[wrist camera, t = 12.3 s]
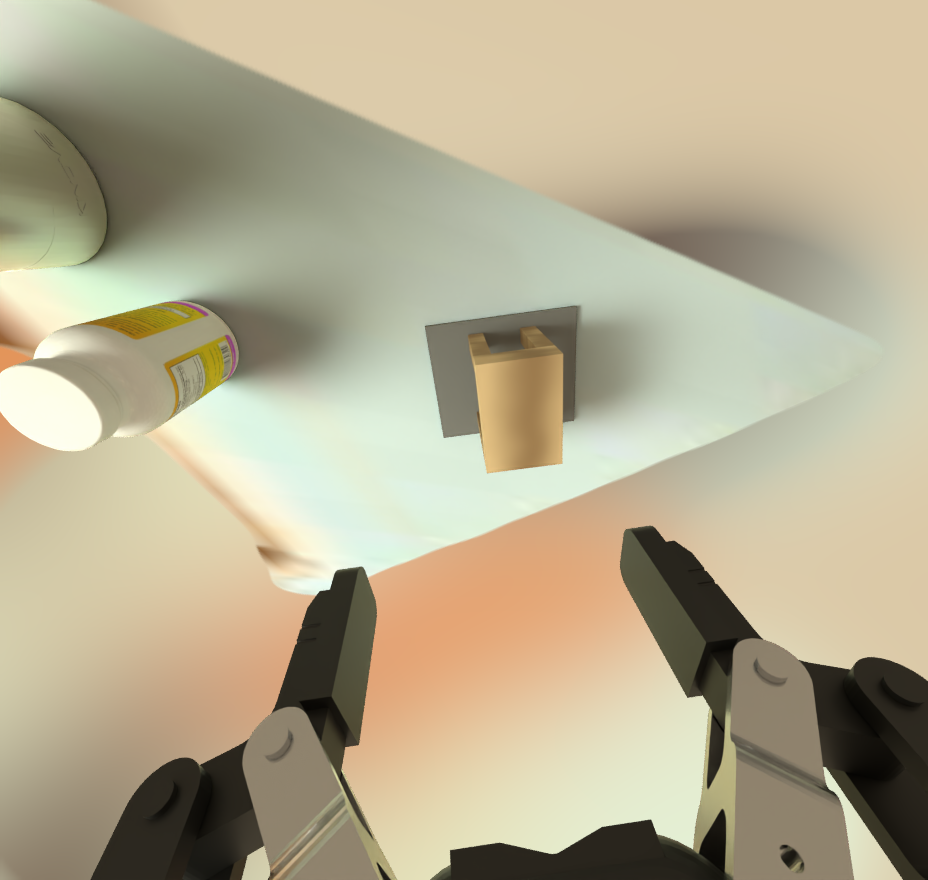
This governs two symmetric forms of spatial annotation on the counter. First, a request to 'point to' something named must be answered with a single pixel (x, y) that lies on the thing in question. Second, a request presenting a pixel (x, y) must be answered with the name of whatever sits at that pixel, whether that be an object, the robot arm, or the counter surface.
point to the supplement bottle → (118, 375)
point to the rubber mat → (501, 336)
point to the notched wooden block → (519, 402)
